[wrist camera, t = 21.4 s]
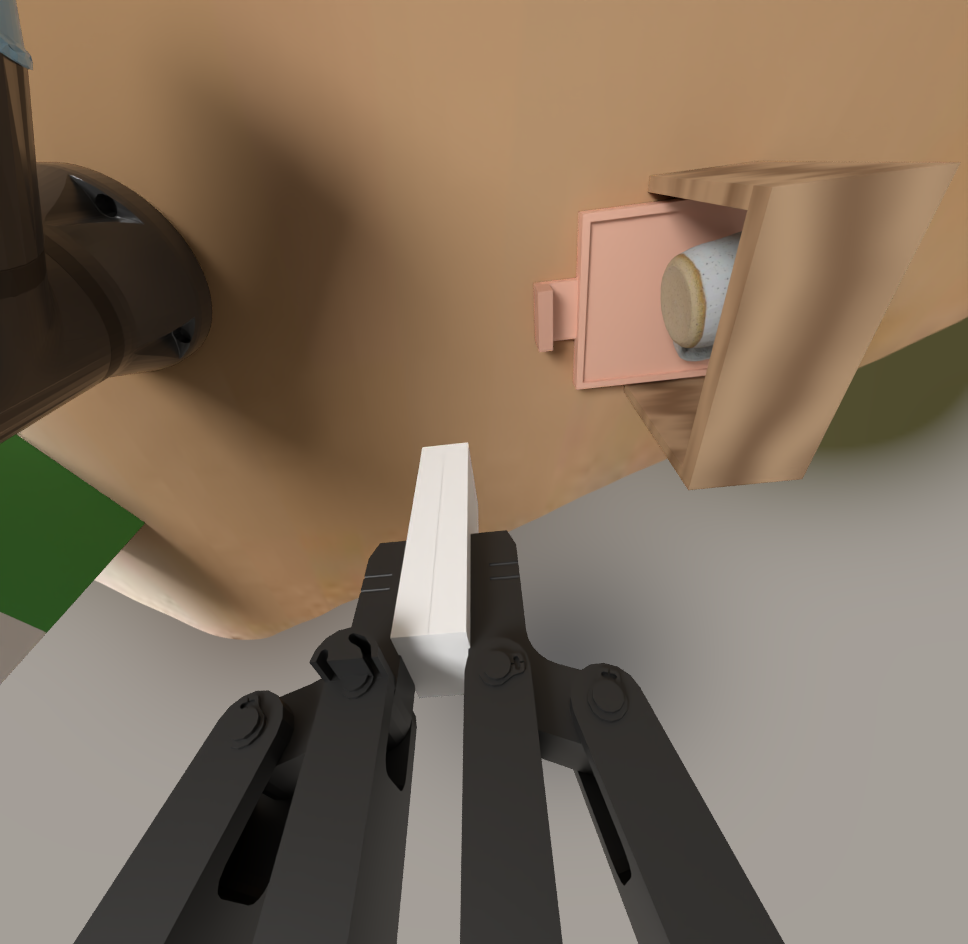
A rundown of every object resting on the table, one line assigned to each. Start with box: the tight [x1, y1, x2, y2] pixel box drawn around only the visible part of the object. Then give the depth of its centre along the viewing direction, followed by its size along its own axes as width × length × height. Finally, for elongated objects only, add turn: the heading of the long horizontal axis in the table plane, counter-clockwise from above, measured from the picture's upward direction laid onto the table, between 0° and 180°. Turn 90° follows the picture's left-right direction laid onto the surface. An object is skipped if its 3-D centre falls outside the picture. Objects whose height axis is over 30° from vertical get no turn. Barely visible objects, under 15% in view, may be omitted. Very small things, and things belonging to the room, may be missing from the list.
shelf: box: [624, 161, 961, 490], centre depth 29 cm, size 8×18×16 cm, turn 6°
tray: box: [533, 198, 747, 390], centre depth 34 cm, size 18×15×3 cm
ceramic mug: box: [660, 231, 742, 361], centre depth 31 cm, size 11×8×8 cm
